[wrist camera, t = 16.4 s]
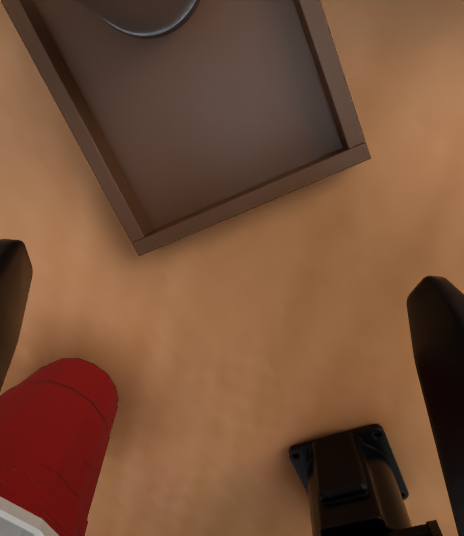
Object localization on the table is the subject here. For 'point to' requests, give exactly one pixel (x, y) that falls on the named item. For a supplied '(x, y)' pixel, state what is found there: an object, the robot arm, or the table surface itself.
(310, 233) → the table surface
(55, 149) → the table surface
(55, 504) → the plastic cup
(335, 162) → the tray
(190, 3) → the metal tumbler
